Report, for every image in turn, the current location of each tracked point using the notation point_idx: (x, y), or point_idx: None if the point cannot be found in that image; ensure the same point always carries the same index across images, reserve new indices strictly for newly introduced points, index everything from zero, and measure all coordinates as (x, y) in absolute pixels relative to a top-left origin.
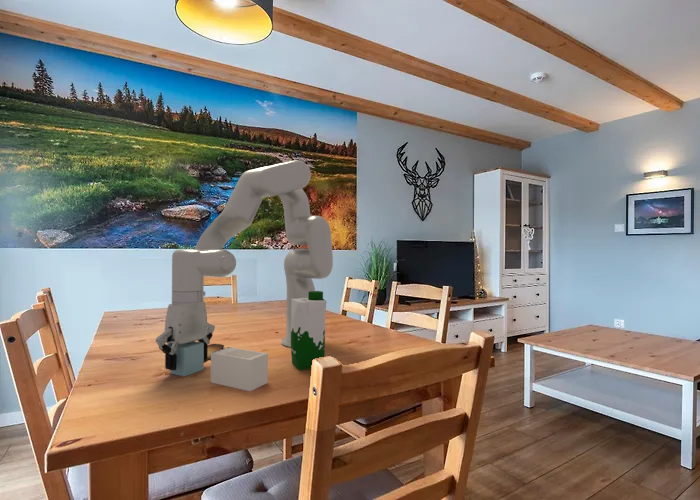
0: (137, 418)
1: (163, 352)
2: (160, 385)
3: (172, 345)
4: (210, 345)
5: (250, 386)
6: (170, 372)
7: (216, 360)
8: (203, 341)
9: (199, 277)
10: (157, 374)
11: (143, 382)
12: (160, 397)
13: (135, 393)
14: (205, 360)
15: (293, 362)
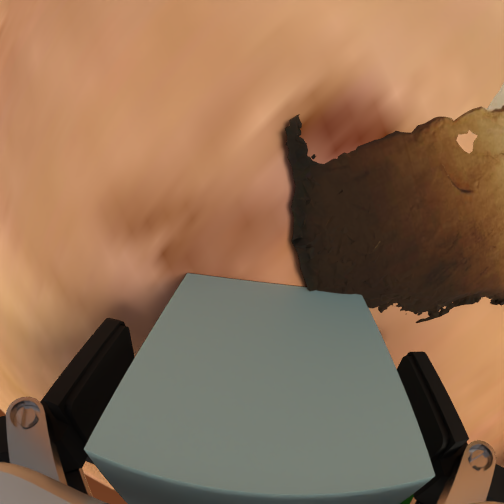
0: (4, 394)
1: (19, 403)
2: (68, 344)
3: (107, 461)
4: None
5: None
6: (185, 276)
7: None
8: (429, 498)
9: None
10: (133, 204)
11: (38, 246)
12: (45, 392)
13: (2, 310)
14: (478, 295)
15: (407, 500)
